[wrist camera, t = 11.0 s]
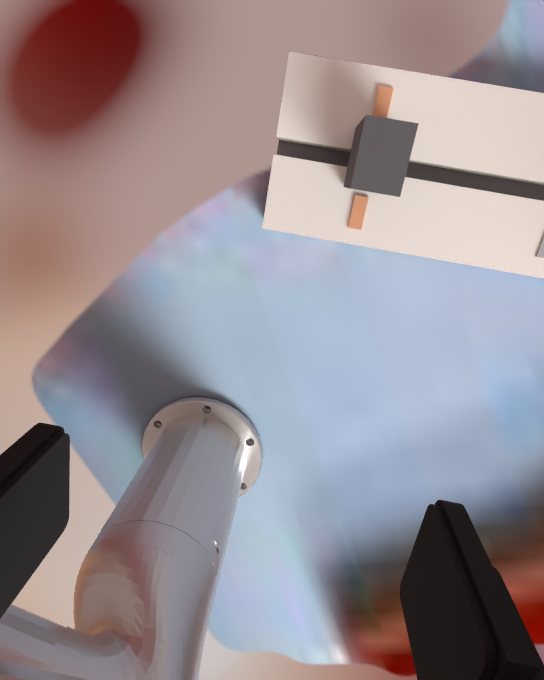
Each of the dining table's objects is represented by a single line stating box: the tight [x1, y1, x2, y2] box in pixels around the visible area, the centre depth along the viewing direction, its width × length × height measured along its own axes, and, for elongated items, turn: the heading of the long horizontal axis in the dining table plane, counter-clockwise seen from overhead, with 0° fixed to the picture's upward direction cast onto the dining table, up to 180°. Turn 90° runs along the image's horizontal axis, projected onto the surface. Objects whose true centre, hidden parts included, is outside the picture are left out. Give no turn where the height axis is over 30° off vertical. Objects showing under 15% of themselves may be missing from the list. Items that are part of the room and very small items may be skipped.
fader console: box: [262, 51, 544, 278], centre depth 34 cm, size 12×26×4 cm, turn 81°
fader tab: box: [343, 115, 419, 197], centre depth 30 cm, size 4×3×10 cm
